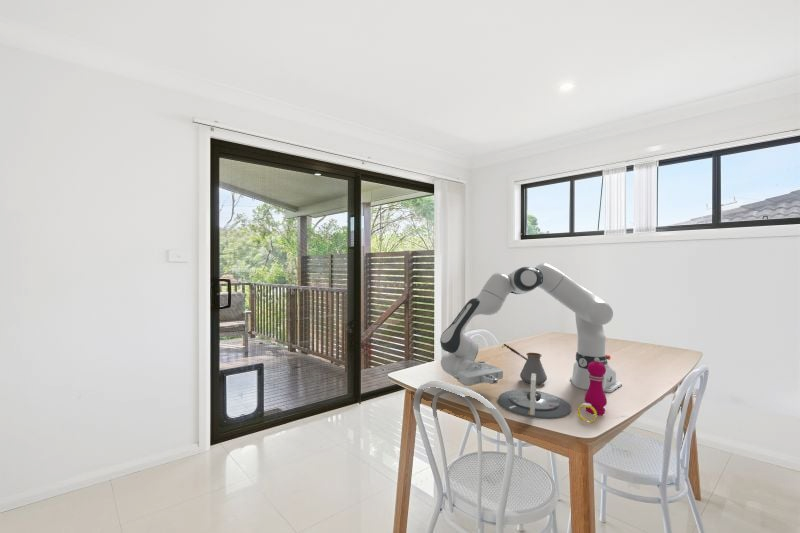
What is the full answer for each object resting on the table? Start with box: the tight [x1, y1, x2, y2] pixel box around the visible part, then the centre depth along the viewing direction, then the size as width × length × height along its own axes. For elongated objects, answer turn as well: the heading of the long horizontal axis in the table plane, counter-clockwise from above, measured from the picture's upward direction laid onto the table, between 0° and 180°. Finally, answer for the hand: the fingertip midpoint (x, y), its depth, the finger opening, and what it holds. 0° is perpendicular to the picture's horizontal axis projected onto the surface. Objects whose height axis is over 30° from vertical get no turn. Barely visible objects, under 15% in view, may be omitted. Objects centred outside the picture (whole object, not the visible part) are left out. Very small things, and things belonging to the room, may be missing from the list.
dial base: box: [498, 389, 572, 420], centre depth 145 cm, size 26×26×1 cm
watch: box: [577, 402, 598, 423], centre depth 131 cm, size 6×3×6 cm, turn 46°
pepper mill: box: [584, 358, 608, 416], centre depth 139 cm, size 7×7×20 cm
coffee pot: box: [501, 343, 548, 387], centre depth 174 cm, size 21×12×15 cm, turn 45°
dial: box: [509, 373, 559, 415], centre depth 141 cm, size 26×18×13 cm
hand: (494, 381), depth 146 cm, fingers closed
